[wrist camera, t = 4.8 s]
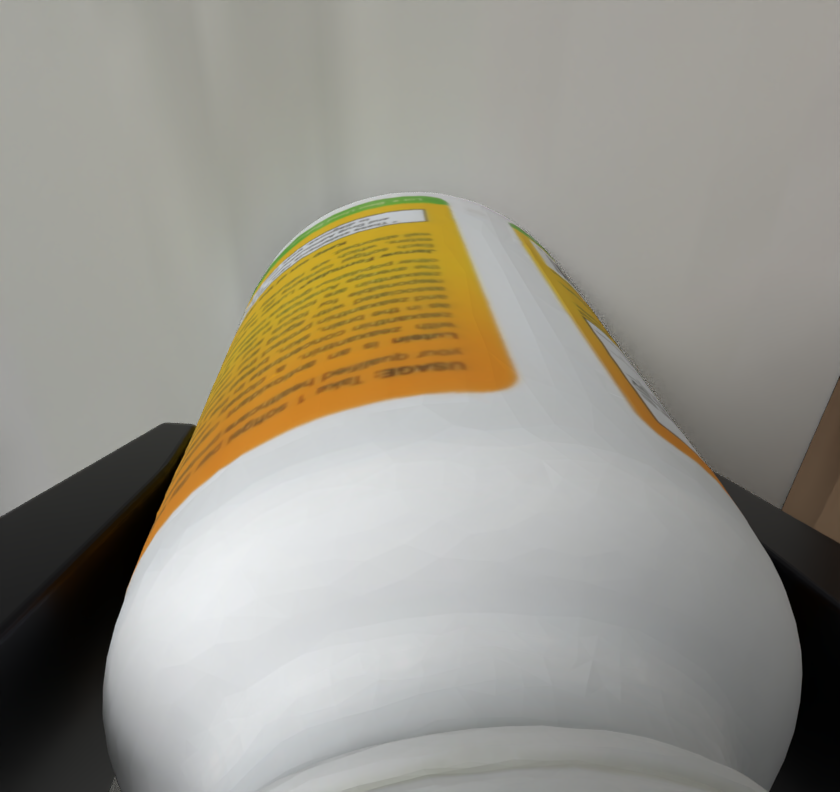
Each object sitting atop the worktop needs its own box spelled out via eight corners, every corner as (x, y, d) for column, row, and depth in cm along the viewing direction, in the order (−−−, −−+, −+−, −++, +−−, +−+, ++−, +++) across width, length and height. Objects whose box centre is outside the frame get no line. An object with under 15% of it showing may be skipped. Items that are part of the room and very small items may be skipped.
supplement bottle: (213, 439, 13) (-172, 1455, 4) (296, 130, 10) (-245, 929, 1) (496, 513, 14) (721, 1413, 5) (630, 253, 11) (1558, 1101, 2)
